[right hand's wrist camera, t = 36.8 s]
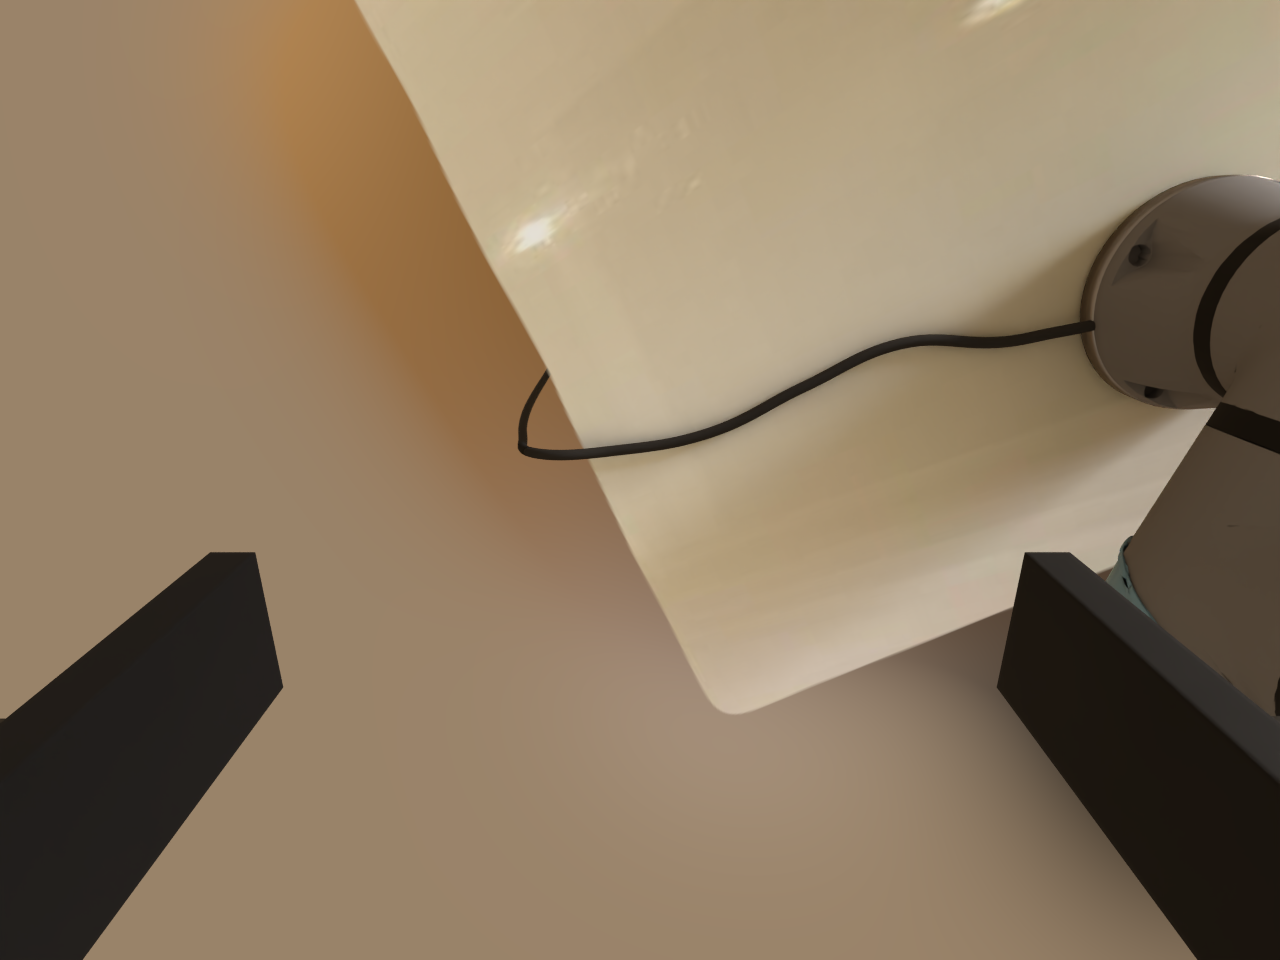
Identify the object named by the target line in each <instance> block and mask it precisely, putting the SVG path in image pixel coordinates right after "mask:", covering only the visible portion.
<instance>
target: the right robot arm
mask: <svg viewBox="0 0 1280 960" xmlns="http://www.w3.org/2000/svg"><path fill="white" fill-rule="evenodd" d="M1080 333H1081V335H1082V340H1083V345H1084V348H1085V351H1086V353H1087V356H1088V358H1089V360H1090V362H1091V364H1092V365H1093V367H1094V369H1095V370H1096V371H1097V373H1098V374H1099V375H1100V376H1101V377H1102V378H1103V379H1104V380H1105V381H1106V382H1107V383H1108V384H1109V385H1110V386H1112V387H1113V388H1114V389H1116V390H1118V391H1119V392H1121V393H1123V394H1125V395H1127V396H1129V397H1132V398H1134V399H1137V400H1139V401H1142V402H1144V403H1147V404H1151V405H1154V406H1159V407H1164V408H1173V409H1203V408H1216V409H1215V411H1214V412H1213V414H1212V416H1211V417H1210V419H1209V420H1208V422H1207V423H1206V425H1205V426H1204V428H1203V429H1202V431H1201V432H1200V434H1199V435H1198V437H1197V438H1196V440H1195V442H1194V443H1193V445H1192V446H1191V448H1190V449H1189V451H1188V452H1187V454H1186V455H1185V457H1184V459H1183V460H1182V462H1181V463H1180V465H1179V466H1178V468H1177V469H1176V471H1175V473H1174V474H1173V476H1172V477H1171V479H1170V480H1169V482H1168V483H1167V485H1166V486H1165V488H1164V490H1163V491H1162V493H1161V494H1160V496H1159V497H1158V499H1157V500H1156V502H1155V504H1154V505H1153V507H1152V508H1151V510H1150V511H1149V513H1148V514H1147V516H1146V517H1145V519H1144V521H1143V522H1142V524H1141V525H1140V527H1139V528H1138V530H1137V531H1136V533H1135V535H1134V536H1130V537H1129V538H1127V539H1126V541H1125V542H1124V543H1123V545H1122V546H1121V548H1120V553H1119V556H1118V561H1117V563H1116V564H1115V566H1114V568H1113V570H1112V572H1111V573H1110V575H1109V577H1108V578H1107V580H1106V581H1104V580H1103V579H1102V578H1101V577H1099V576H1098V575H1097V574H1096V573H1094V572H1093V571H1092V570H1091V569H1090V568H1088V567H1087V566H1086V565H1085V564H1083V563H1082V562H1081V561H1080V560H1078V559H1077V558H1076V557H1075V556H1074V555H1072V554H1071V553H1070V552H1025V554H1024V559H1023V564H1022V569H1021V573H1020V578H1019V583H1018V588H1017V593H1016V597H1015V602H1014V607H1013V612H1012V617H1011V621H1010V626H1009V631H1008V636H1007V641H1006V646H1005V651H1004V655H1003V660H1002V665H1001V670H1000V675H999V679H998V684H997V688H998V690H999V691H1000V692H1001V694H1002V695H1003V696H1004V698H1005V699H1006V700H1007V702H1008V703H1009V704H1010V706H1011V707H1012V709H1013V710H1014V711H1015V713H1016V714H1017V715H1018V717H1019V718H1020V719H1021V721H1022V722H1023V723H1024V725H1025V726H1026V728H1027V729H1028V730H1029V732H1030V733H1031V734H1032V736H1033V737H1034V738H1035V740H1036V741H1037V743H1038V744H1039V745H1040V747H1041V748H1042V749H1043V751H1044V752H1045V753H1046V755H1047V756H1048V757H1049V759H1050V760H1051V762H1052V763H1053V764H1054V766H1055V767H1056V768H1057V770H1058V771H1059V772H1060V774H1061V775H1062V776H1063V778H1064V779H1065V781H1066V782H1067V783H1068V785H1069V786H1070V787H1071V789H1072V790H1073V791H1074V793H1075V794H1076V795H1077V797H1078V798H1079V800H1080V801H1081V802H1082V804H1083V805H1084V806H1085V808H1086V809H1087V810H1088V812H1089V813H1090V815H1091V816H1092V817H1093V819H1094V820H1095V821H1096V823H1097V824H1098V825H1099V827H1100V828H1101V829H1102V831H1103V832H1104V834H1105V835H1106V836H1107V838H1108V839H1109V840H1110V842H1111V843H1112V844H1113V846H1114V847H1115V848H1116V850H1117V851H1118V853H1119V854H1120V855H1121V857H1122V858H1123V859H1124V861H1125V862H1126V863H1127V865H1128V866H1129V867H1130V869H1131V870H1132V872H1133V873H1134V874H1135V876H1136V877H1137V878H1138V880H1139V881H1140V882H1141V884H1142V885H1143V886H1144V888H1145V889H1146V891H1147V892H1148V893H1149V895H1150V896H1151V897H1152V899H1153V900H1154V901H1155V903H1156V904H1157V906H1158V907H1159V908H1160V910H1161V911H1162V912H1163V914H1164V915H1165V916H1166V918H1167V919H1168V920H1169V922H1170V923H1171V925H1172V926H1173V927H1174V929H1175V930H1176V931H1177V933H1178V934H1179V935H1180V937H1181V938H1182V939H1183V941H1184V942H1185V943H1186V945H1187V946H1188V948H1189V949H1190V950H1191V952H1192V953H1193V954H1194V956H1195V957H1196V958H1197V960H1280V181H1277V180H1273V179H1270V178H1266V177H1261V176H1254V175H1224V176H1212V177H1205V178H1200V179H1195V180H1192V181H1188V182H1185V183H1182V184H1180V185H1177V186H1175V187H1172V188H1170V189H1168V190H1166V191H1164V192H1162V193H1160V194H1159V195H1157V196H1156V197H1154V198H1152V199H1151V200H1149V201H1148V202H1146V203H1145V204H1144V205H1142V206H1141V207H1139V208H1138V209H1137V210H1136V211H1135V212H1134V213H1132V214H1131V215H1130V216H1129V217H1128V218H1127V219H1126V220H1125V221H1124V222H1123V223H1122V224H1121V225H1120V226H1119V227H1118V228H1117V230H1116V231H1115V232H1114V233H1113V234H1112V235H1111V237H1110V238H1109V240H1108V241H1107V242H1106V244H1105V245H1104V246H1103V248H1102V250H1101V251H1100V253H1099V255H1098V256H1097V258H1096V260H1095V262H1094V264H1093V266H1092V268H1091V271H1090V273H1089V276H1088V278H1087V281H1086V285H1085V288H1084V292H1083V297H1082V301H1081V310H1080V322H1078V323H1073V324H1068V325H1063V326H1058V327H1052V328H1047V329H1042V330H1038V331H1033V332H1029V333H1024V334H1018V335H1012V336H1002V337H968V336H955V335H917V336H910V337H905V338H900V339H896V340H892V341H888V342H885V343H882V344H879V345H876V346H873V347H871V348H868V349H866V350H864V351H862V352H859V353H857V354H855V355H853V356H851V357H849V358H847V359H845V360H843V361H841V362H840V363H838V364H836V365H834V366H832V367H830V368H829V369H827V370H825V371H823V372H821V373H819V374H817V375H815V376H813V377H811V378H809V379H807V380H805V381H803V382H801V383H799V384H797V385H795V386H793V387H791V388H789V389H787V390H785V391H783V392H781V393H779V394H778V395H776V396H774V397H772V398H770V399H769V400H767V401H765V402H763V403H761V404H760V405H758V406H756V407H754V408H752V409H751V410H749V411H747V412H745V413H743V414H741V415H739V416H737V417H735V418H732V419H730V420H728V421H726V422H723V423H721V424H718V425H715V426H712V427H710V428H706V429H703V430H700V431H697V432H693V433H690V434H686V435H682V436H678V437H673V438H668V439H662V440H656V441H649V442H641V443H633V444H624V445H616V446H607V447H598V448H588V449H575V450H547V449H538V448H532V447H529V446H527V440H528V438H527V424H528V419H529V416H530V413H531V410H532V408H533V406H534V403H535V401H536V399H537V398H538V396H539V394H540V392H541V390H542V389H543V387H544V385H545V384H546V382H547V380H548V379H549V377H550V373H549V371H548V369H546V371H545V372H544V374H543V376H542V377H541V379H540V380H539V382H538V383H537V385H536V386H535V388H534V390H533V391H532V393H531V395H530V396H529V398H528V400H527V402H526V404H525V406H524V408H523V410H522V413H521V417H520V420H519V426H518V450H519V451H520V453H521V454H523V455H525V456H528V457H532V458H537V459H545V460H578V459H590V458H600V457H609V456H617V455H626V454H635V453H643V452H651V451H658V450H664V449H670V448H675V447H680V446H684V445H688V444H692V443H696V442H699V441H702V440H706V439H709V438H712V437H715V436H718V435H720V434H723V433H726V432H728V431H731V430H733V429H735V428H738V427H740V426H742V425H744V424H746V423H748V422H750V421H752V420H754V419H756V418H757V417H759V416H761V415H763V414H765V413H767V412H768V411H770V410H772V409H774V408H775V407H777V406H779V405H781V404H783V403H785V402H786V401H788V400H790V399H792V398H794V397H796V396H798V395H800V394H802V393H804V392H806V391H809V390H811V389H813V388H815V387H817V386H819V385H821V384H823V383H825V382H827V381H828V380H830V379H832V378H834V377H836V376H838V375H840V374H841V373H843V372H845V371H847V370H849V369H851V368H853V367H855V366H857V365H859V364H861V363H863V362H865V361H867V360H870V359H872V358H875V357H877V356H880V355H883V354H886V353H889V352H892V351H896V350H900V349H905V348H910V347H917V346H954V347H967V348H1002V347H1012V346H1018V345H1024V344H1029V343H1034V342H1039V341H1043V340H1048V339H1053V338H1059V337H1064V336H1069V335H1075V334H1080ZM282 688H283V684H282V679H281V674H280V670H279V665H278V660H277V655H276V650H275V646H274V641H273V636H272V631H271V626H270V621H269V617H268V612H267V607H266V602H265V597H264V593H263V588H262V583H261V578H260V573H259V569H258V564H257V559H256V554H255V552H210V553H209V554H208V555H206V556H205V557H204V558H203V559H202V560H200V561H199V562H198V563H197V564H195V565H194V566H193V567H192V568H190V569H189V570H188V571H187V572H186V573H184V574H183V575H182V576H181V577H179V578H178V579H177V580H176V581H174V582H173V583H172V584H171V585H170V586H168V587H167V588H166V589H165V590H163V591H162V592H161V593H160V594H159V595H157V596H156V597H155V598H154V599H152V600H151V601H150V602H149V603H147V604H146V605H145V606H144V607H143V608H141V609H140V610H139V611H138V612H136V613H135V614H134V615H133V616H131V617H130V618H129V619H128V620H127V621H125V622H124V623H123V624H122V625H120V626H119V627H118V628H117V629H116V630H114V631H113V632H112V633H111V634H109V635H108V636H107V637H106V638H104V639H103V640H102V641H101V642H100V643H98V644H97V645H96V646H95V647H93V648H92V649H91V650H90V651H88V652H87V653H86V654H85V655H84V656H82V657H81V658H80V659H79V660H77V661H76V662H75V663H74V664H72V665H71V666H70V667H69V668H68V669H66V670H65V671H64V672H63V673H61V674H60V675H59V676H58V677H57V678H55V679H54V680H53V681H52V682H50V683H49V684H48V685H47V686H45V687H44V688H43V689H42V690H41V691H39V692H38V693H37V694H36V695H34V696H33V697H32V698H31V699H29V700H28V701H27V702H26V703H25V704H23V705H22V706H21V707H20V708H18V709H17V710H16V711H15V712H14V713H12V714H11V715H10V716H9V717H7V718H6V719H0V960H83V958H84V957H85V956H86V954H87V953H88V952H89V950H90V949H91V948H92V946H93V945H94V944H95V942H96V941H97V939H98V938H99V937H100V935H101V934H102V933H103V931H104V930H105V929H106V927H107V926H108V925H109V923H110V922H111V920H112V919H113V918H114V916H115V915H116V914H117V912H118V911H119V910H120V908H121V907H122V905H123V904H124V903H125V901H126V900H127V899H128V897H129V896H130V895H131V893H132V892H133V891H134V889H135V888H136V886H137V885H138V884H139V882H140V881H141V880H142V878H143V877H144V876H145V874H146V873H147V872H148V870H149V869H150V867H151V866H152V865H153V863H154V862H155V861H156V859H157V858H158V857H159V855H160V854H161V853H162V851H163V850H164V848H165V847H166V846H167V844H168V843H169V842H170V840H171V839H172V838H173V836H174V835H175V834H176V832H177V831H178V829H179V828H180V827H181V825H182V824H183V823H184V821H185V820H186V819H187V817H188V816H189V814H190V813H191V812H192V810H193V809H194V808H195V806H196V805H197V804H198V802H199V801H200V800H201V798H202V797H203V795H204V794H205V793H206V791H207V790H208V789H209V787H210V786H211V785H212V783H213V782H214V781H215V779H216V778H217V776H218V775H219V774H220V772H221V771H222V770H223V768H224V767H225V766H226V764H227V763H228V762H229V760H230V759H231V757H232V756H233V755H234V753H235V752H236V751H237V749H238V748H239V746H240V745H241V744H242V742H243V741H244V740H245V738H246V737H247V736H248V734H249V733H250V732H251V730H252V729H253V728H254V726H255V725H256V724H257V722H258V721H259V719H260V718H261V717H262V715H263V714H264V712H265V711H266V710H267V708H268V707H269V706H270V705H271V703H272V702H273V700H274V699H275V698H276V696H277V695H278V694H279V692H280V691H281V690H282Z"/></svg>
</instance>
